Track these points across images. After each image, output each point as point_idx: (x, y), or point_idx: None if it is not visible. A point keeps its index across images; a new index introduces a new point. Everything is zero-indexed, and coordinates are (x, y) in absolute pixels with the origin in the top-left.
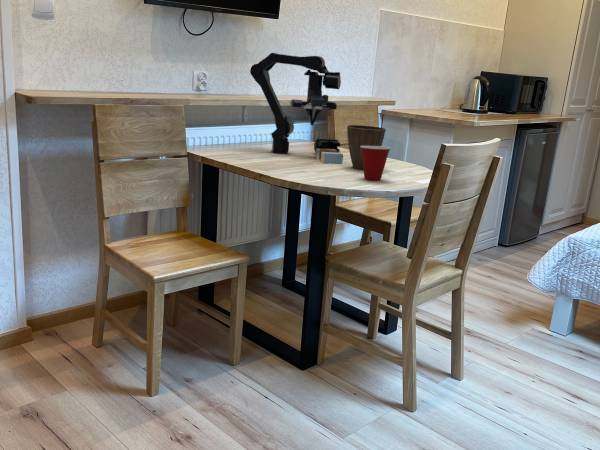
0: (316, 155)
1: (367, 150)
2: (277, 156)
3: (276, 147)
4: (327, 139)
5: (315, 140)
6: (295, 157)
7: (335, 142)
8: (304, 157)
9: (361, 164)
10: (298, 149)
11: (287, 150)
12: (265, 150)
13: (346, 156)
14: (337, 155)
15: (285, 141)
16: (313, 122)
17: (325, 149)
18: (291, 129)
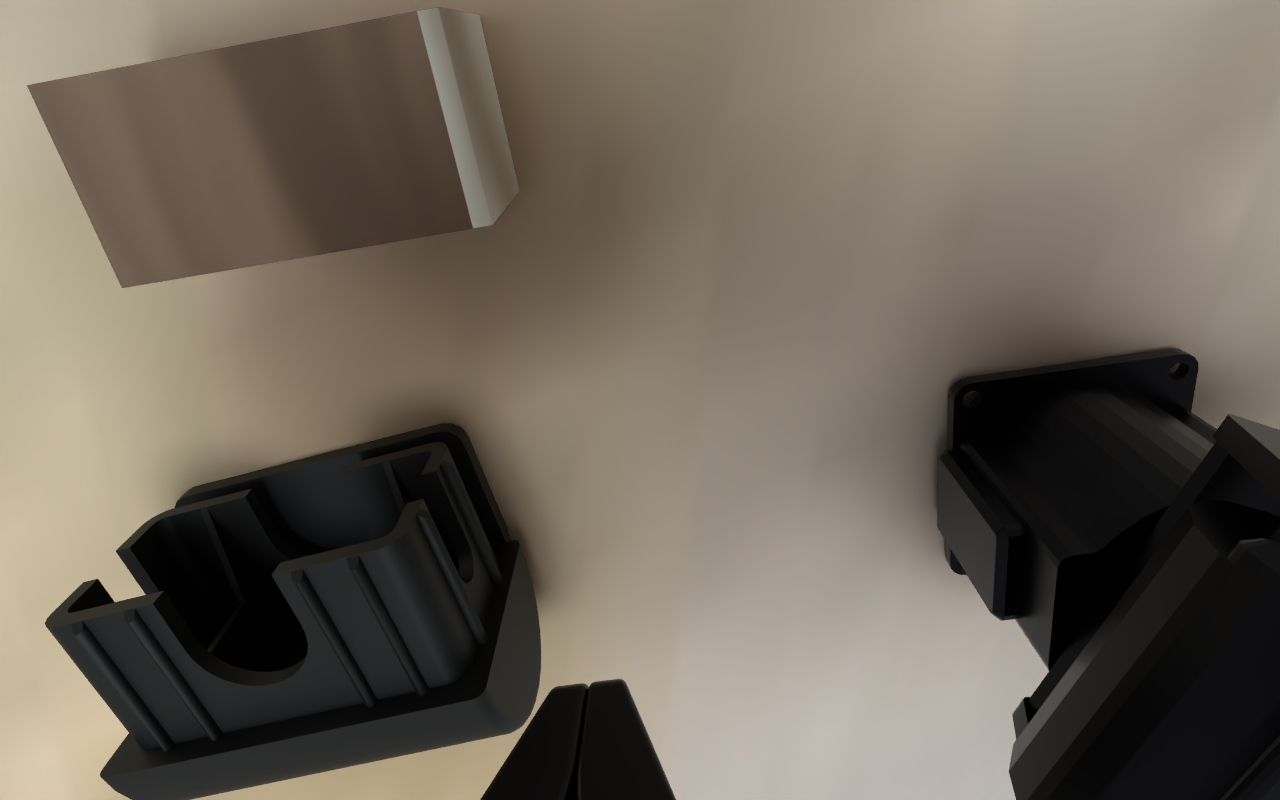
0: (504, 160)
1: None
2: (1205, 38)
3: (1182, 425)
4: (284, 736)
5: (511, 711)
6: (880, 66)
7: (122, 607)
8: (714, 139)
9: None
10: (734, 776)
11: (963, 454)
12: None
13: (74, 517)
14: None
15: (1089, 506)
16: (535, 761)
17: (299, 150)
18: (1138, 672)
